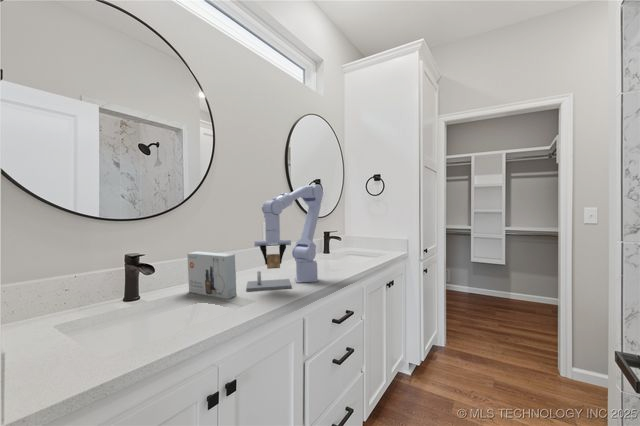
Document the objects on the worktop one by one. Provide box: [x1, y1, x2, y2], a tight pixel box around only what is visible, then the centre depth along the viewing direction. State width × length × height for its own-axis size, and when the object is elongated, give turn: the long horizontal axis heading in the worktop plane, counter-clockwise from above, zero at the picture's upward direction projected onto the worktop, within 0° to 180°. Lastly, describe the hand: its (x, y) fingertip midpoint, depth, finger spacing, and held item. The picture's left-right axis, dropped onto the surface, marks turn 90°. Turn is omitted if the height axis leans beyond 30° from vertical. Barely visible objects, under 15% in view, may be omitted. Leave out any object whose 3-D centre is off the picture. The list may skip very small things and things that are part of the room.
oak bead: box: [266, 253, 281, 270], centre depth 118 cm, size 5×5×5 cm
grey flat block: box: [245, 270, 293, 293], centre depth 123 cm, size 18×12×7 cm, turn 101°
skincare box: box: [186, 251, 238, 300], centre depth 113 cm, size 21×5×16 cm, turn 62°
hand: (273, 263), depth 118 cm, fingers closed on oak bead, 5 cm apart
